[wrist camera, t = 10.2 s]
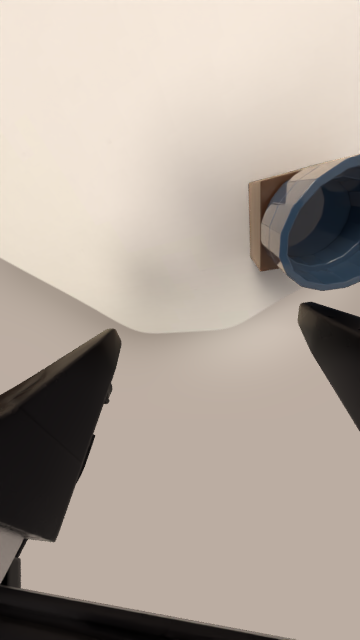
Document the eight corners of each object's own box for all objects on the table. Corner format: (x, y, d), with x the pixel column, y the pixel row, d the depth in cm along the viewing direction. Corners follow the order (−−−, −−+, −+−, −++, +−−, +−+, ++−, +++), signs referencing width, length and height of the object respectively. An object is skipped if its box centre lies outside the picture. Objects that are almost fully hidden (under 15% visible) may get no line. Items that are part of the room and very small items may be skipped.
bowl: (346, 256, 14) (398, 280, 10) (259, 271, 15) (276, 297, 11) (373, 149, 11) (464, 126, 7) (259, 179, 12) (284, 174, 8)
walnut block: (320, 244, 17) (347, 257, 14) (250, 257, 18) (260, 272, 15) (334, 160, 14) (374, 150, 11) (248, 182, 15) (260, 180, 12)
